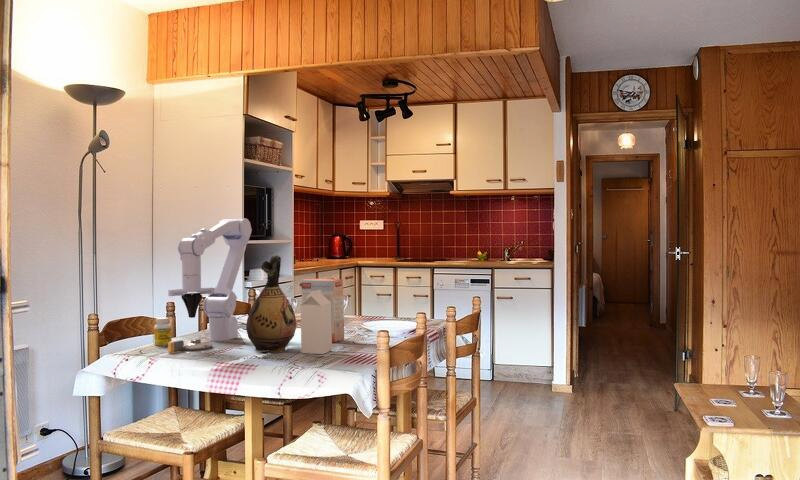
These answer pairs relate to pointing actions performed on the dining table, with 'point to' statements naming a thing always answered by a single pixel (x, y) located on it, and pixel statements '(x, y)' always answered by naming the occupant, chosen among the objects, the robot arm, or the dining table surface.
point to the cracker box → (334, 294)
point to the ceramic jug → (271, 314)
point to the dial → (189, 345)
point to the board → (199, 352)
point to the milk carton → (316, 324)
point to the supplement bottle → (162, 331)
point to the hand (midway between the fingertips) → (192, 317)
